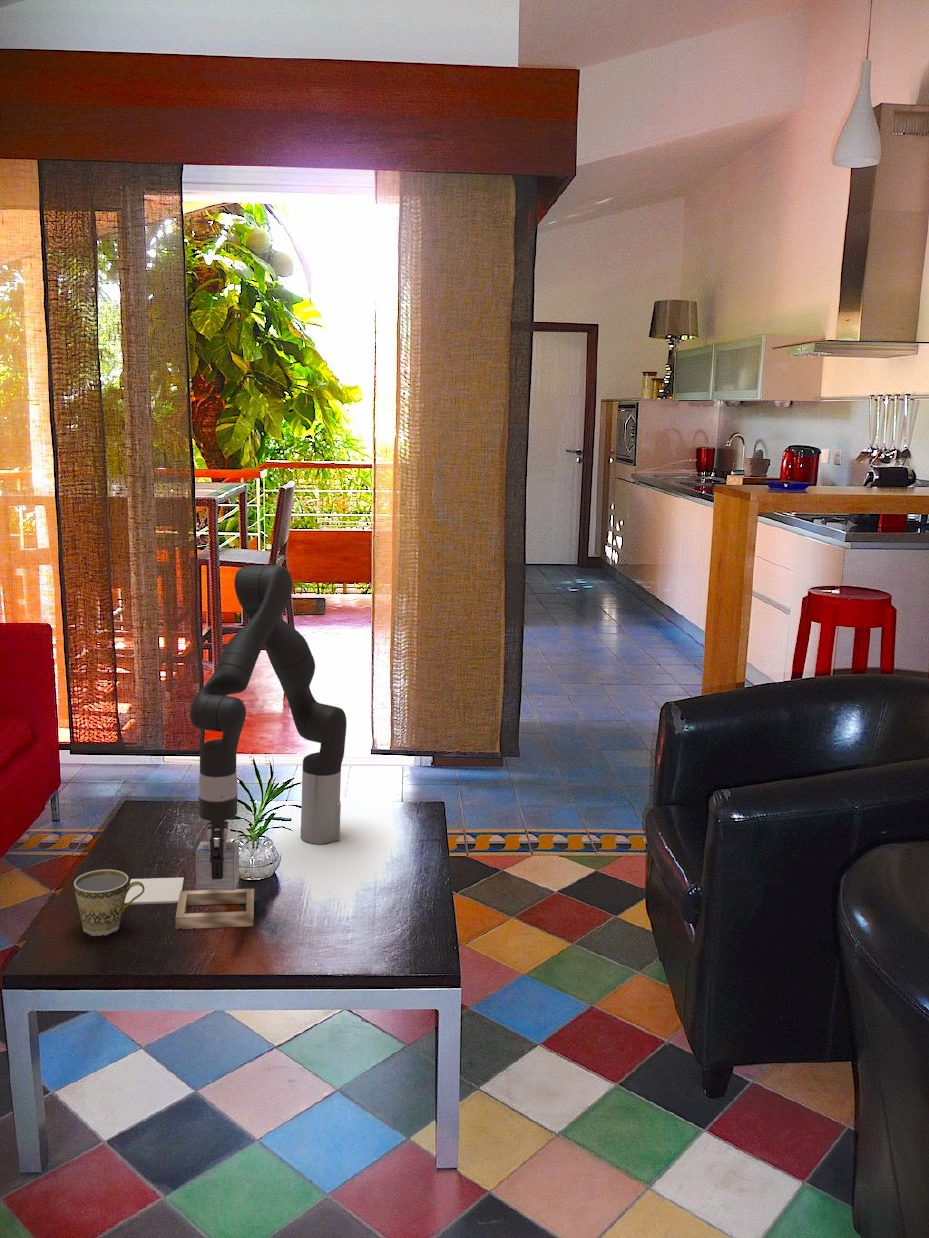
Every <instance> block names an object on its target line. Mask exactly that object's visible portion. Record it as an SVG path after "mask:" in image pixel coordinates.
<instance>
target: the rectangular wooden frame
mask: <svg viewBox="0 0 929 1238" xmlns="http://www.w3.org/2000/svg"><path fill="white" fill-rule="evenodd" d="M254 903H255V888H236V890H206V889H197V890H182V891H180V894H179V900H178V903H177V908H176V913H175V917H174V918H175V929H174V930H189V929H190V930H191V929H192V930H193V928H195V929H214V928H215V929H216V928H240V927H241V928H242V927H254V917H255V915H254V914H255V913H254V911H255V909H254V908H255V907H254V906H255V904H254ZM234 904H237V905H239V904H246V905H245V911H244V910H243V911H242V910H241V911H219V912H192V913H191V912H190V913H189V912H188V913H187V908H188V906H207V905H213V906H214V905H234ZM180 928H181V929H180Z"/></svg>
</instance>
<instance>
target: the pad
mask: <svg viewBox="0 0 929 1238" xmlns="http://www.w3.org/2000/svg"><path fill="white" fill-rule="evenodd" d="M129 881H130V882H129V884H130V883H132V882H141V883H142V884H143V885H144V888H145V889H144V892H143V894H142V895H141V896H140V897H138V898H137V899H135V900H134V901H133V902H132V903H131V904H130V905H132V906H133V905H157V904H158V905H159V904H160V905H161V904H162V905H163V904H178V900H179V894H180V891H183V886H184V881H185V878H184V876H183V877H157V878H155V877H154V878H131V879H130V880H129ZM142 890H143V889H142V887H141V886H139V885H137V886H133V887H132V888H130V889H129V891H128V893H127V894H126V895H125V900H124V903H125V904H127V903H129V902H130V901H131V900H132V899H133V898H134V897H136V896H137V895H139V894H140V893H141V892H142ZM130 905H129V906H130Z"/></svg>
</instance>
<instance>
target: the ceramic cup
mask: <svg viewBox="0 0 929 1238" xmlns="http://www.w3.org/2000/svg"><path fill="white" fill-rule="evenodd" d="M129 881H130V880H129V876H128V874H126V873H125V872H123V871H121V870H116V869H96V870H92V871H89V872H84V873H83V874H81V875H79V876H78V877H76V879H75V880H74V882H73V890H74V894H75V899H76V903H77V906H78V911H79V916H80V920H81V926H82V930H83V933H86V934H87V935H90V936H92V937H97V936H98V937H99V936H100V937H101V936H102V935H104V936H108V934H109V935H110V933H111V934H113V933H115V932H117V930H118V931H119V929H120V925H121V920H122V919H121V918H122V915H123V912H124V911H125V910H126V908H128V906H130V904H131V903H132V902H133V901H134V900H135V899H137V898H138V897H140V896H141V895H142V894H143V892H144V889H145V888H144V885H143V884H142V883H141V882H132V883H130V882H129ZM137 885H139V886H141V887H142V889H143V890H142V892H141V893H140V894H139V895H137V896H136V897H134V898H133V899H132V900H131V901H130V902H129V903H127V904H125V903H124V902H125V898H126V895H127V893H128V891H129V889H130V888H132V887H133V886H137ZM114 931H115V932H114ZM112 932H113V933H112Z"/></svg>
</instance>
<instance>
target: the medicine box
mask: <svg viewBox="0 0 929 1238" xmlns="http://www.w3.org/2000/svg"><path fill="white" fill-rule="evenodd" d="M223 844H224V842H223ZM208 846H209V841H200V843H199V844H198V846H197V848H196V850H195V879H196V880H195V882H196V883H195V890H236V889H237V887H238V884H239V883H240V882H239V881H240V843H239V842H237V841H236V842H234V841H232V842H231V841H226V849H225V850H224V861H223V878H222V879H216V880H213V879H212V863H210V850H209V848H208ZM214 856H221V855H220V854H214Z"/></svg>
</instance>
